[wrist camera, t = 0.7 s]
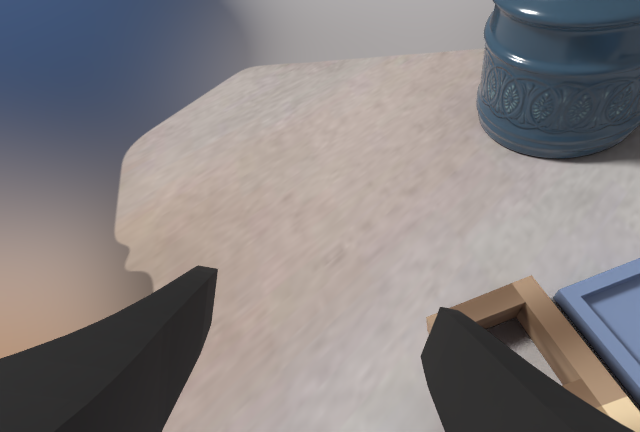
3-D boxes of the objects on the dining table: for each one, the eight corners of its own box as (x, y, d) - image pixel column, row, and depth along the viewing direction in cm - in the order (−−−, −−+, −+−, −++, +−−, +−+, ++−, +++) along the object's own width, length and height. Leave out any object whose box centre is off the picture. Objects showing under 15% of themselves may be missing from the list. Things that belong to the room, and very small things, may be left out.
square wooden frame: (603, 402, 19) (627, 396, 16) (485, 446, 19) (492, 446, 17) (522, 292, 23) (531, 275, 20) (427, 330, 23) (426, 317, 21)
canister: (530, 185, 27) (627, -87, 13) (450, 102, 35) (457, -122, 21) (686, 121, 26) (962, -239, 12) (567, 51, 34) (655, -216, 20)
